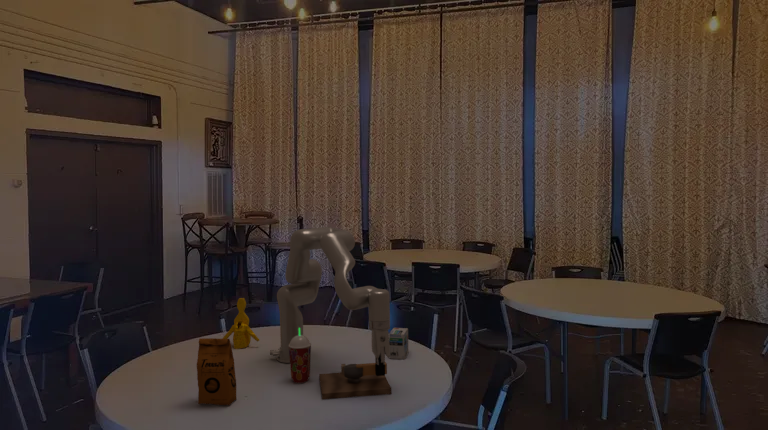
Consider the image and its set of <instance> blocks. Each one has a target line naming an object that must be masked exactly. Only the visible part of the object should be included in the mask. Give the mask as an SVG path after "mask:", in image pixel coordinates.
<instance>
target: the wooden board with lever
mask: <svg viewBox="0 0 768 430" xmlns="http://www.w3.org/2000/svg"><path fill="white" fill-rule="evenodd" d="M346 365H347V364H346V363H340V370H341V371H340V372H328V373H319V375H318V376H319V377H318V378H319V386H320V392H321V393H320V394H321V399H322V400H330V399H331V400H332V399H344V398H345V399H347V398H357V397H360V398H361V397H368V396H369V397H370V396H371V397H372V396H382V395H391V394H392V387H391V385H390V383H389V381H388V379H387V377H386V374H385V375H384V376H376V375H366V376H362V377H360V378H355V379H351V378H346V377H344V366H346Z"/></svg>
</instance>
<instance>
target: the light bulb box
mask: <svg viewBox="0 0 768 430" xmlns="http://www.w3.org/2000/svg"><path fill="white" fill-rule="evenodd" d="M388 333H389V344H390V357H389V359H391V360H405V359H406V358H407V356H408V354H409V328H407V327H406V328H405V327H404V328H403V327H393V328H392V330H390V332H388Z"/></svg>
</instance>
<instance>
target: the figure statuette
mask: <svg viewBox="0 0 768 430" xmlns="http://www.w3.org/2000/svg"><path fill="white" fill-rule="evenodd" d="M236 308H237V311H238V314H237V315H236V316H235V318H234V320H233V323H234V324H232V325H231V327H230V328H229V330H228V331H227V332H226V333H225V335H224V336H223V337H222V338H221V339H229V338H230V336H231V335H232V342H233V349H235V350H239V349H244V348H248V347H249V345H250V344H251V341H252V339H253V340H255V341H256V342H259V341H260V338H259V337H258V336H257V334H256V333H255V332H254V331H253V329H252V328H251V327H250V326H249V325H250V318H249V316H248V315H247V314H246V312H245V309H246V308H247V301H246V299H245V297H239V298H238V299H237V303H236Z"/></svg>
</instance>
